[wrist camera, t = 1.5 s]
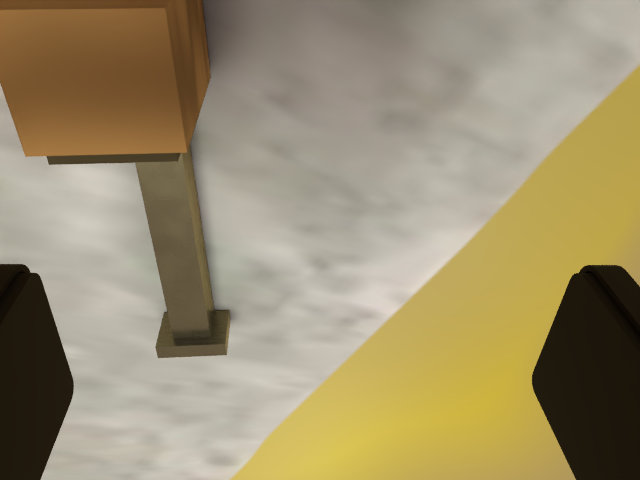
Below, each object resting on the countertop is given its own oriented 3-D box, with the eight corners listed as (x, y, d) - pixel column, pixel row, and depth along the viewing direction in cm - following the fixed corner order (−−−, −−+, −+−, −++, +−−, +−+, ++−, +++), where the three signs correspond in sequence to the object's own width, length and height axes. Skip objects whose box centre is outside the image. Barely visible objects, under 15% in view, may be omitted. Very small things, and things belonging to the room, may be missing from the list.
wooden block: (64, -34, 24) (-25, 10, 17) (197, -35, 24) (165, 8, 17) (94, 90, 27) (30, 171, 20) (212, 88, 27) (189, 166, 20)
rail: (53, -193, 21) (21, -200, 19) (165, -192, 22) (150, -199, 19) (166, 323, 37) (158, 357, 35) (230, 320, 38) (226, 354, 35)
